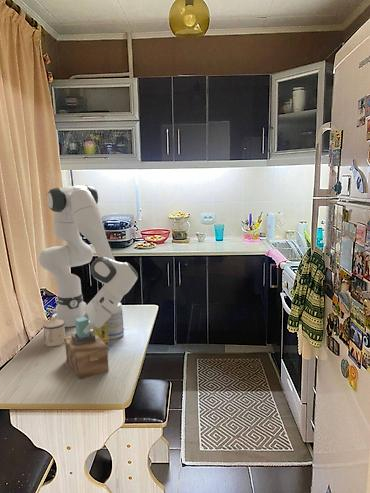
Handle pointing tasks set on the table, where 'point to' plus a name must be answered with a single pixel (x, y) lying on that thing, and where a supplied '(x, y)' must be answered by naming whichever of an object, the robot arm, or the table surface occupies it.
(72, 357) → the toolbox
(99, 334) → the sauce bottle
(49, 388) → the table surface
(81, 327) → the teal rectangular block
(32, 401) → the table surface
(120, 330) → the supplement tub
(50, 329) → the teacup with lid
